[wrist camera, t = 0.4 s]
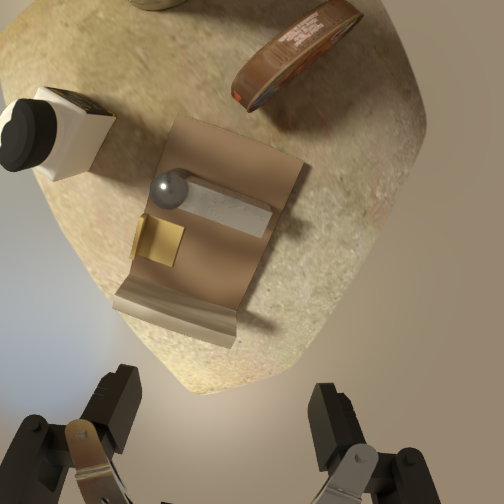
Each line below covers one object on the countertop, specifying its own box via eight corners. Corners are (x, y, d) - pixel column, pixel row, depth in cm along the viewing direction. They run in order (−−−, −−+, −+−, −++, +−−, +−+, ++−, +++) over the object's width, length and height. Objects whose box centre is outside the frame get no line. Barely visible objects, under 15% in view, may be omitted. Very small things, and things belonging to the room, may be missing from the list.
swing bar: (158, 193, 26) (145, 202, 22) (168, 163, 25) (156, 167, 21) (257, 229, 28) (260, 244, 24) (270, 201, 27) (274, 211, 23)
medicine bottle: (118, 116, 24) (52, 109, 13) (89, 172, 26) (20, 196, 15) (75, 91, 22) (6, 80, 11) (49, 145, 24) (-22, 158, 13)
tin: (249, 118, 25) (253, 109, 18) (226, 98, 24) (220, 80, 17) (347, 35, 22) (381, 8, 14) (327, 16, 21) (354, -17, 13)
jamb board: (179, 114, 25) (164, 108, 19) (301, 160, 27) (316, 166, 22) (130, 281, 32) (112, 308, 26) (231, 316, 34) (230, 349, 28)
